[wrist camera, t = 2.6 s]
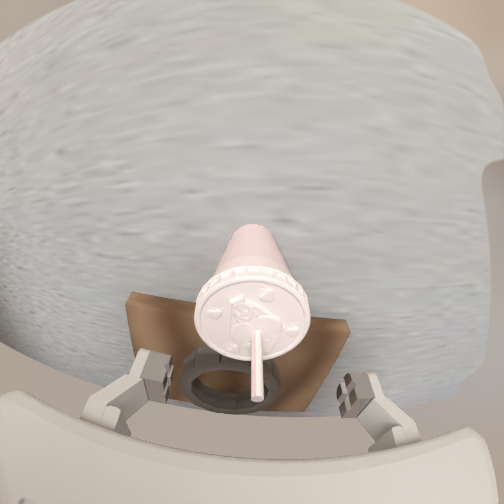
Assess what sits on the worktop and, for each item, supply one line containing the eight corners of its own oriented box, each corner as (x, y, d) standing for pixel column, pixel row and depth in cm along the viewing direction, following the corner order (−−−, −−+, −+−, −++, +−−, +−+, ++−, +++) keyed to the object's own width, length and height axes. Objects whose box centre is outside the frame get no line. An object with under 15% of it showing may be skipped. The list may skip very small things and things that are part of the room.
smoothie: (234, 286, 25) (222, 430, 12) (200, 227, 22) (145, 364, 10) (301, 261, 23) (340, 404, 11) (273, 195, 21) (303, 320, 8)
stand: (147, 381, 32) (139, 407, 28) (132, 291, 25) (115, 321, 21) (302, 400, 34) (306, 426, 30) (345, 319, 27) (357, 350, 23)
